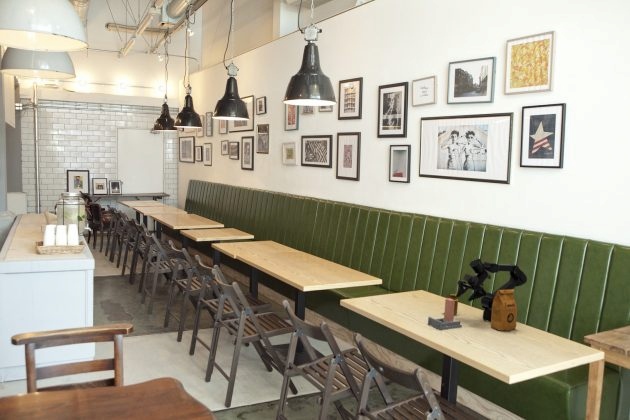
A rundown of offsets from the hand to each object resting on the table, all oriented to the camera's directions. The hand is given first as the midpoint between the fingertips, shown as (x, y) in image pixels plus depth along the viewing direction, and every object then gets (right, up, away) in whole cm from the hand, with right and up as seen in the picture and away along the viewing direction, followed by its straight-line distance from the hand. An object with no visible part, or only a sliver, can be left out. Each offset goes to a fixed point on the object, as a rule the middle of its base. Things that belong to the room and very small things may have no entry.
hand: (462, 298), depth 296 cm
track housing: (-11, -14, -5) cm, 19 cm away
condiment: (-2, -13, +19) cm, 23 cm away
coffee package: (+21, -16, -5) cm, 27 cm away
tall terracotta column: (-9, -12, -4) cm, 16 cm away
